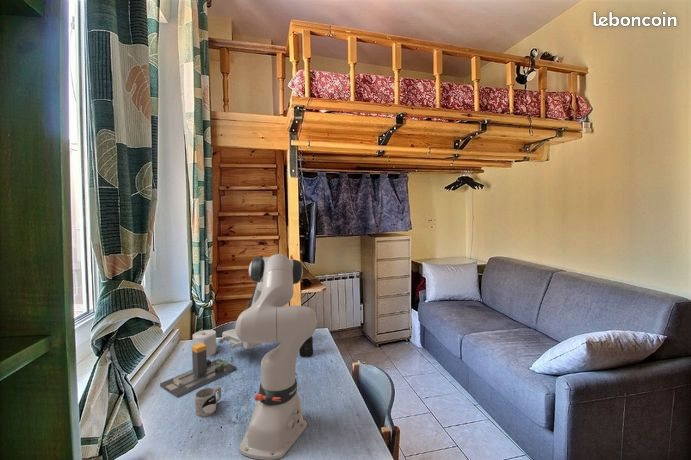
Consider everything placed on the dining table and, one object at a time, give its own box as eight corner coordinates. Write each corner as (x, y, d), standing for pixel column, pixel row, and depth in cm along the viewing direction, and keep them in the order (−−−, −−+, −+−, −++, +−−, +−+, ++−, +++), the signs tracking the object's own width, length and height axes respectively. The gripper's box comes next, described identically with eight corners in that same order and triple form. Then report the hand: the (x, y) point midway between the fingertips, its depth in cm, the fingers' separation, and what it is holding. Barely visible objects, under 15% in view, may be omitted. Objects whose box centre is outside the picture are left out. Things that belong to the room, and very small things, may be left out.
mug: (204, 419, 106) (203, 400, 106) (191, 413, 109) (190, 395, 109) (227, 403, 115) (227, 385, 114) (214, 398, 118) (214, 381, 117)
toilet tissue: (207, 347, 164) (207, 328, 163) (222, 352, 158) (222, 332, 157) (188, 355, 155) (187, 335, 154) (203, 360, 148) (202, 340, 148)
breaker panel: (218, 361, 148) (218, 354, 148) (236, 369, 140) (236, 362, 139) (160, 386, 126) (159, 378, 126) (177, 397, 118) (177, 389, 118)
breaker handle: (202, 369, 136) (201, 343, 135) (207, 372, 133) (206, 345, 133) (192, 374, 132) (191, 346, 132) (197, 376, 130) (196, 348, 129)
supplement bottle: (314, 351, 157) (313, 328, 156) (311, 358, 150) (311, 333, 149) (300, 351, 157) (300, 327, 157) (297, 357, 151) (297, 333, 150)
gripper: (236, 323, 160) (211, 332, 149) (263, 332, 148) (238, 342, 137) (237, 335, 160) (212, 345, 149) (263, 345, 148) (238, 356, 137)
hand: (225, 344), depth 143 cm, fingers open, 8 cm apart
